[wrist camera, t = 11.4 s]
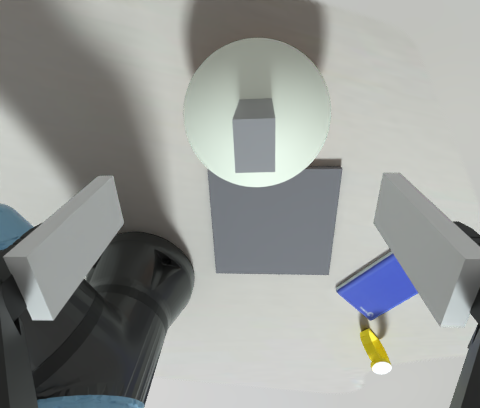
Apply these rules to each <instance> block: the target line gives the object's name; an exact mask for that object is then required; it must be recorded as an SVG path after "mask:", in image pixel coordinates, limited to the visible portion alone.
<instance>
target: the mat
mask: <svg viewBox="0 0 480 408" xmlns="http://www.w3.org/2000/svg"><path fill="white" fill-rule="evenodd" d="M341 175H342V168H341V166H337V167H307V168H305V169H304V170H303V171H302V172H300V173H299V174H298V175H296V176H294V177H293V178H291V179H289V180H287V181H285V182H282V183H279V184H276V185H272V186H267V187H246V186H240V185H237V184H233V183H231V182H228V181H226V180H224V179H222V178H220V177H218V176H217V175H215V174H214V173H213V172H211V171H210V170H209V169H208V180H209V192H210V204H211V216H212V228H213V240H214V252H215V264H216V273H236V274H300V275H329V268H330V260H331V253H332V245H333V237H334V229H335V222H336V214H337V206H338V199H339V191H340V183H341Z"/></svg>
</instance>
